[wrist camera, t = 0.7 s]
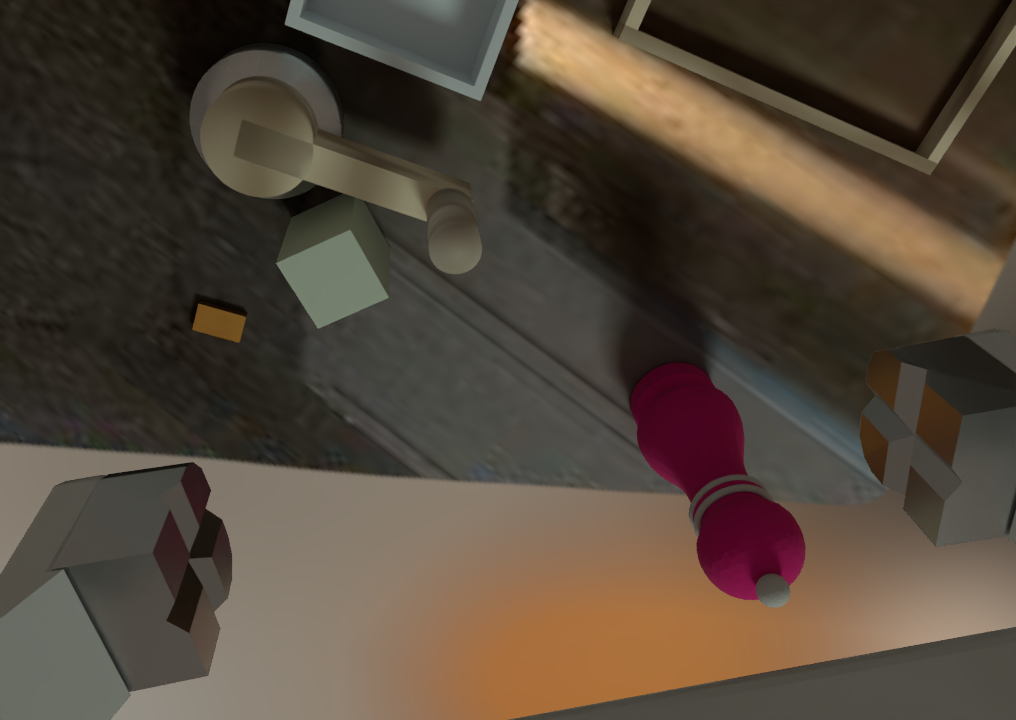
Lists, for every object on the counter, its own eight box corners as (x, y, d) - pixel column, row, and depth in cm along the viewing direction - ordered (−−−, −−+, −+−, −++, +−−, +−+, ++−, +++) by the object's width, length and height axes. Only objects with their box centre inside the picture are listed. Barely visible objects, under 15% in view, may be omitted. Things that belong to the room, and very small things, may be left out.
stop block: (291, 217, 49) (276, 263, 43) (356, 187, 49) (350, 229, 43) (327, 277, 51) (318, 328, 45) (390, 249, 51) (388, 297, 45)
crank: (202, 159, 44) (162, 213, 37) (224, 59, 41) (187, 96, 34) (451, 242, 48) (460, 306, 41) (485, 156, 46) (501, 207, 38)
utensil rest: (710, -191, 41) (720, -194, 39) (1034, -13, 47) (1052, -10, 46) (612, 34, 46) (618, 38, 45) (917, 168, 52) (930, 175, 51)
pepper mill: (604, 395, 59) (687, 603, 41) (686, 337, 57) (807, 530, 40) (657, 452, 62) (754, 667, 45) (735, 399, 60) (867, 602, 43)
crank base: (217, 19, 43) (206, 26, 41) (361, 74, 45) (359, 84, 43) (154, 315, 51) (141, 336, 49) (278, 349, 54) (272, 370, 51)
